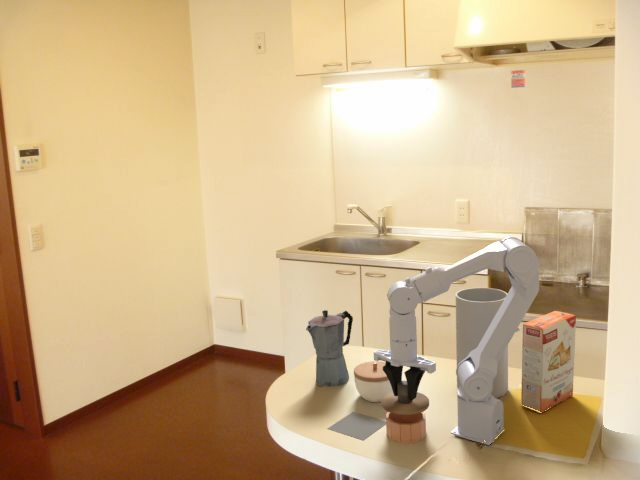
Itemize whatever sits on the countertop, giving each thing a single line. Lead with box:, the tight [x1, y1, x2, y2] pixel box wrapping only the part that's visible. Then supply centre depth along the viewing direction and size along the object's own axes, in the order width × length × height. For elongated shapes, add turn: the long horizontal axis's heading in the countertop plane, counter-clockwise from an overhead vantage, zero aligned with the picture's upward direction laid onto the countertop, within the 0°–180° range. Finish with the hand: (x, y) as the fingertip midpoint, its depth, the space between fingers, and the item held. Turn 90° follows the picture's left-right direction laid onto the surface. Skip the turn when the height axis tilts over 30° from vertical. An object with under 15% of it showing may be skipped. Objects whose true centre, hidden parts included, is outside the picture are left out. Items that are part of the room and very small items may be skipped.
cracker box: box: [520, 310, 577, 413], centre depth 158 cm, size 14×6×21 cm, turn 129°
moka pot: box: [305, 310, 354, 387], centre depth 177 cm, size 10×15×20 cm, turn 132°
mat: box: [326, 411, 386, 441], centre depth 153 cm, size 10×10×1 cm
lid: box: [381, 380, 430, 415], centre depth 146 cm, size 10×10×5 cm
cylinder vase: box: [455, 287, 509, 399], centre depth 166 cm, size 12×12×25 cm
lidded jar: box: [353, 360, 393, 403], centre depth 166 cm, size 11×11×9 cm
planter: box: [385, 411, 427, 444], centre depth 148 cm, size 9×9×4 cm
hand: (405, 396), depth 146 cm, fingers closed on lid, 3 cm apart
